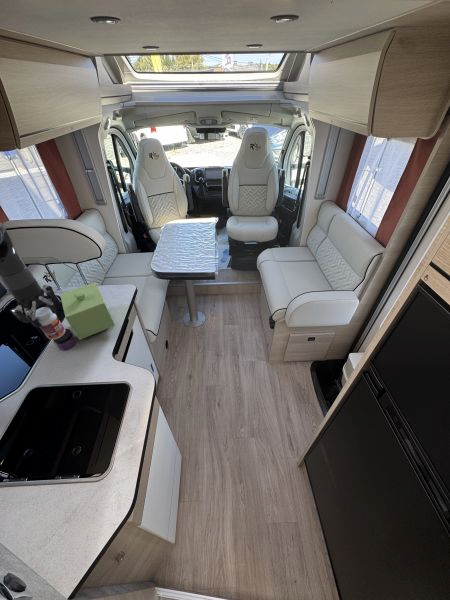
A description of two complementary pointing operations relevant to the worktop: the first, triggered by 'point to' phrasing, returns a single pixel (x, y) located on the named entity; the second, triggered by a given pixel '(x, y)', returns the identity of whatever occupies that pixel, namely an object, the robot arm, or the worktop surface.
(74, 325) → the container
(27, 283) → the robot arm
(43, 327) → the pill bottle
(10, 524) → the worktop surface
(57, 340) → the jar lid
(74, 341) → the jar
